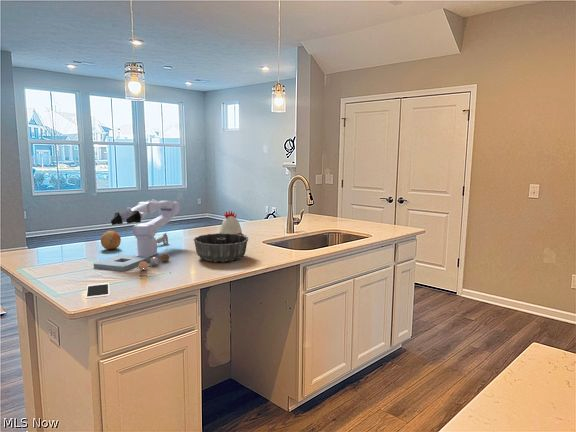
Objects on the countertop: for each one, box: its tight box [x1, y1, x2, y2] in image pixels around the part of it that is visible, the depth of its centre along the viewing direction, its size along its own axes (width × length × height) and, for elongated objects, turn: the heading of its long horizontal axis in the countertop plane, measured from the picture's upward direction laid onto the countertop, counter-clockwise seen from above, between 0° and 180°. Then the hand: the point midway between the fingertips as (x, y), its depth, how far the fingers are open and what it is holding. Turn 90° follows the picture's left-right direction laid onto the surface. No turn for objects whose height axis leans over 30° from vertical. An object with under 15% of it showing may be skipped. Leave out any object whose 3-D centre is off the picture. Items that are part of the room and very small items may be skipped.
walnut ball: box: [159, 252, 170, 263], centre depth 197 cm, size 4×4×4 cm
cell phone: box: [85, 282, 111, 299], centre depth 156 cm, size 8×16×1 cm, turn 23°
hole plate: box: [93, 253, 151, 272], centre depth 191 cm, size 18×16×2 cm
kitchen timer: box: [219, 210, 243, 236], centre depth 263 cm, size 14×14×15 cm
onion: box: [100, 230, 122, 250], centre depth 220 cm, size 10×10×10 cm
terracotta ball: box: [137, 261, 149, 271], centre depth 182 cm, size 4×4×4 cm
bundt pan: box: [193, 232, 249, 263], centre depth 204 cm, size 26×26×10 cm
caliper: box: [156, 232, 169, 245], centre depth 228 cm, size 20×1×6 cm, turn 151°
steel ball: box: [149, 256, 160, 267], centre depth 189 cm, size 4×4×4 cm
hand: (119, 222), depth 186 cm, fingers open, 7 cm apart
